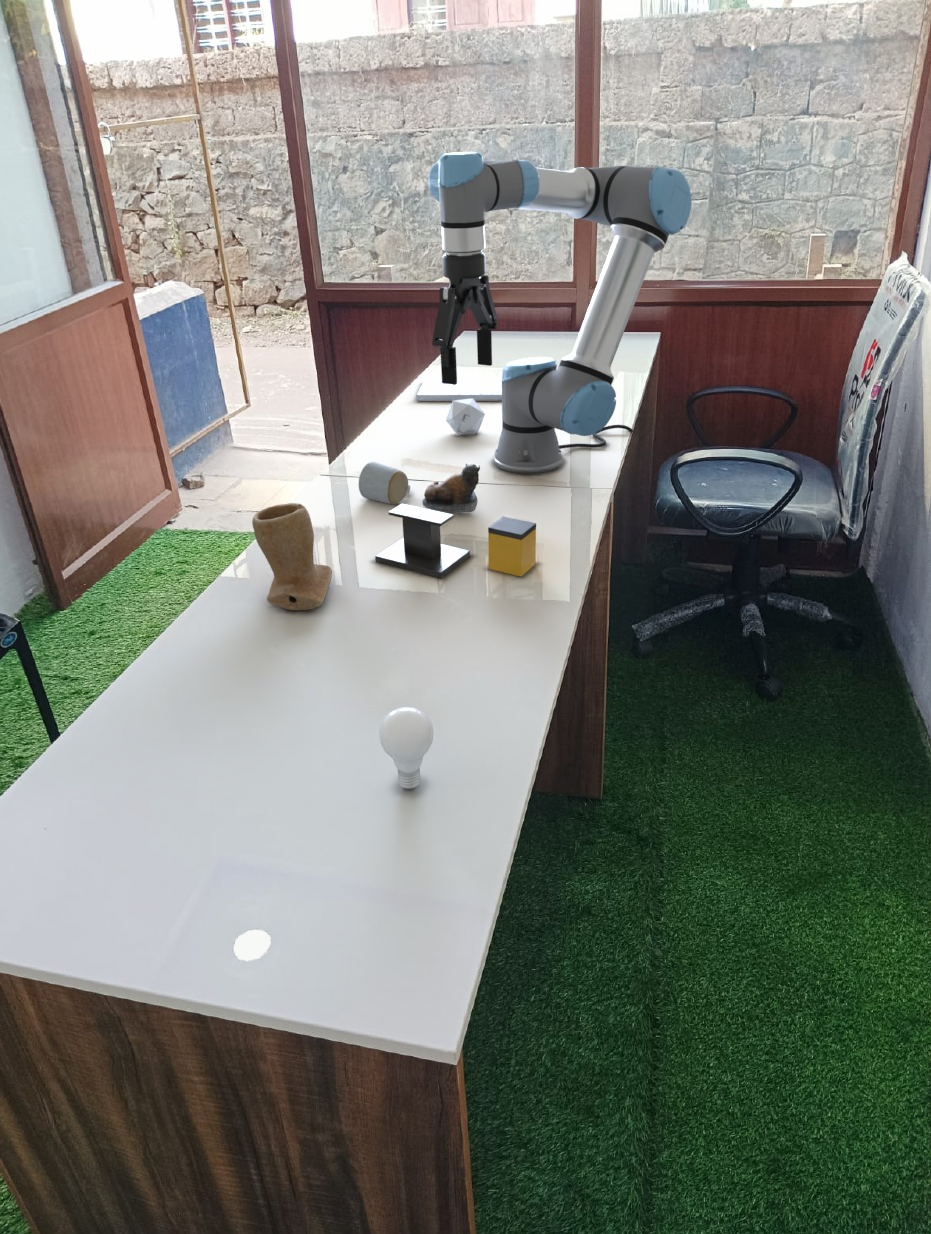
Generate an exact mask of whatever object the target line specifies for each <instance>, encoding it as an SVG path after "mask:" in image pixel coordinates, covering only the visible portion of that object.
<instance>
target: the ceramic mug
mask: <svg viewBox="0 0 931 1234" xmlns="http://www.w3.org/2000/svg"><path fill="white" fill-rule="evenodd" d="M358 491H359V493H360V495H361V496H362V498H364V499H367V500H372V501H376V502H380V503H385V504H388V505H398V504H400V503H401V502H402V501H403V500H404V499H405V497H406V495H407V494H409V493H410V492H411V485H409V479H408V476H407V474H406V473H405V472H404V471H402V470H400V469H398V468H396V467H391V466H388V465H386V464H382V463H379V462H376V461H370V462H368V463H367V464H365V465H364V466H363V467H362V469H361V471H360V473H359V477H358Z"/></svg>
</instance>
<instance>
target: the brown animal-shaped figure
mask: <svg viewBox="0 0 931 1234" xmlns="http://www.w3.org/2000/svg"><path fill="white" fill-rule="evenodd" d="M480 470H481V465H478V466H477V465H476V464H475V463H471V464H468V463H465V466H464V467H463V469H462V471H461V472H460V474H459V473H455V474H452V475H451V476H449V477H447V478H446V479H445V480H442V481H441V482H439V481H438V480H435V481H434V482H432V483H431V484H429V485H428V486H427V487H426V489H425V491H424V494H423V496H424V498H423V499H422V501H421V504H422V506H423V507H424V508H425V509H429V510H434V511H439V512H443V513H472V512H475V511H476V510H477V505H478V502H479V501H478V500H479V499H478V497H477V494H476V492H475V489H476V487H477V486H478V484H479V481H480V477H479V475H480V474H479V472H480Z"/></svg>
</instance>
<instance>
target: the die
mask: <svg viewBox="0 0 931 1234" xmlns="http://www.w3.org/2000/svg"><path fill="white" fill-rule="evenodd" d="M485 416H486V413H485V412H484V410H482V408H481V407H480V405H479V404H478V402H477V401H475V400H474V399H473V398H471V399H463V400H455V401H451V404H450V407H449V410H448V413H447V416H446V418H445V422H447V424H448V426H450V428H451V429H452V430H453V432H454V433H455V434H456V435H457V437H460V436H469V435H475V434H478V433H479V431H480V429H481V426H482V423H483V421H484V419H485Z"/></svg>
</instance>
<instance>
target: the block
mask: <svg viewBox="0 0 931 1234" xmlns="http://www.w3.org/2000/svg"><path fill="white" fill-rule="evenodd" d="M487 531H488V532H487V535H488V537H487V538H488V539H487V540H488V545H487V546H488V570H491V571H495V572H500V573H503V574H508V575H512V576H516V577H521V578H522V577H523V576H524V575H525V574H526V573H528V571H530V570H531V569H532V568H533V567H535V565H536V554H537V553H536V549H537V548H536V546H537V523H536V522H532V521H529V520H523V519H518V518H512V517H508V516H501V517H500V518H499V519H497V520H496V521H495V522H493V523H492V524H491V525H489V526H488V527H487Z"/></svg>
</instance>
